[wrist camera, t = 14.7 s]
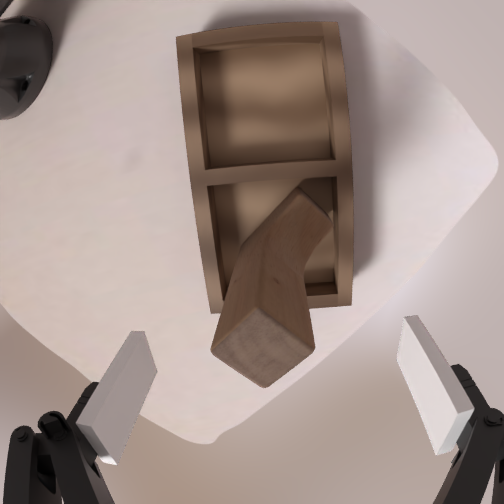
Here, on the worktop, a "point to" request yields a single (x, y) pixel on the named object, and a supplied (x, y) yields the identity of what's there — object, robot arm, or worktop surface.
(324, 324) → the worktop surface
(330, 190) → the tray
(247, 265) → the wooden block
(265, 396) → the worktop surface
